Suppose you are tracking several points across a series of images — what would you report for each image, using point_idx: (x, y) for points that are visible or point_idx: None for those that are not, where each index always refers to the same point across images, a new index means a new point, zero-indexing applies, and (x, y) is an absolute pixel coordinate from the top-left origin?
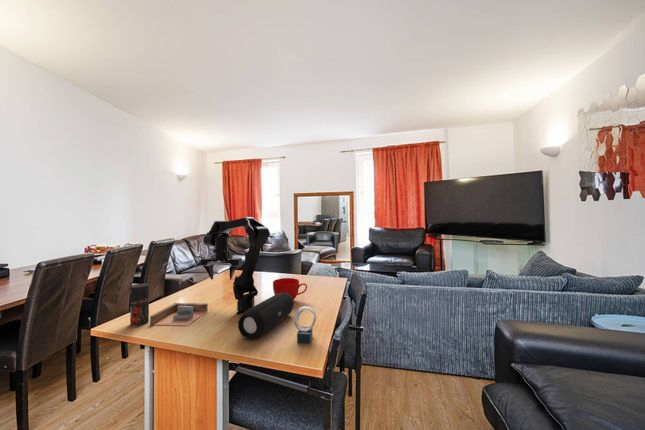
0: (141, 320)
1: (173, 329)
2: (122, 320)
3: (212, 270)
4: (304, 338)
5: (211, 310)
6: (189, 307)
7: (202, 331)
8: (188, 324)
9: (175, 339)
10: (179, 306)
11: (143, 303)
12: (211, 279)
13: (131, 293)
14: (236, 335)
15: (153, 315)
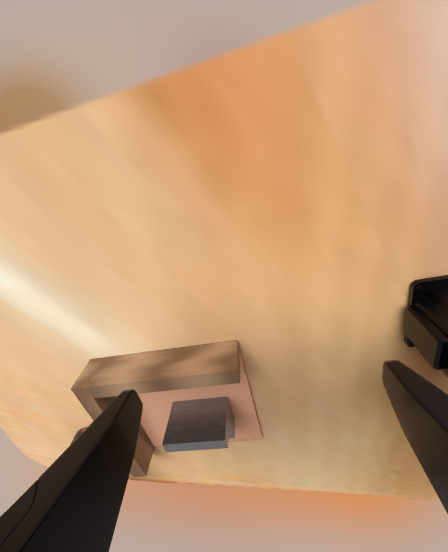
0: None
1: (237, 452)
2: (26, 434)
3: (56, 530)
4: None
5: (248, 329)
6: (219, 446)
7: (336, 451)
8: (261, 435)
9: (289, 480)
10: (170, 448)
11: None
12: (136, 407)
13: None
14: None
15: (137, 472)
